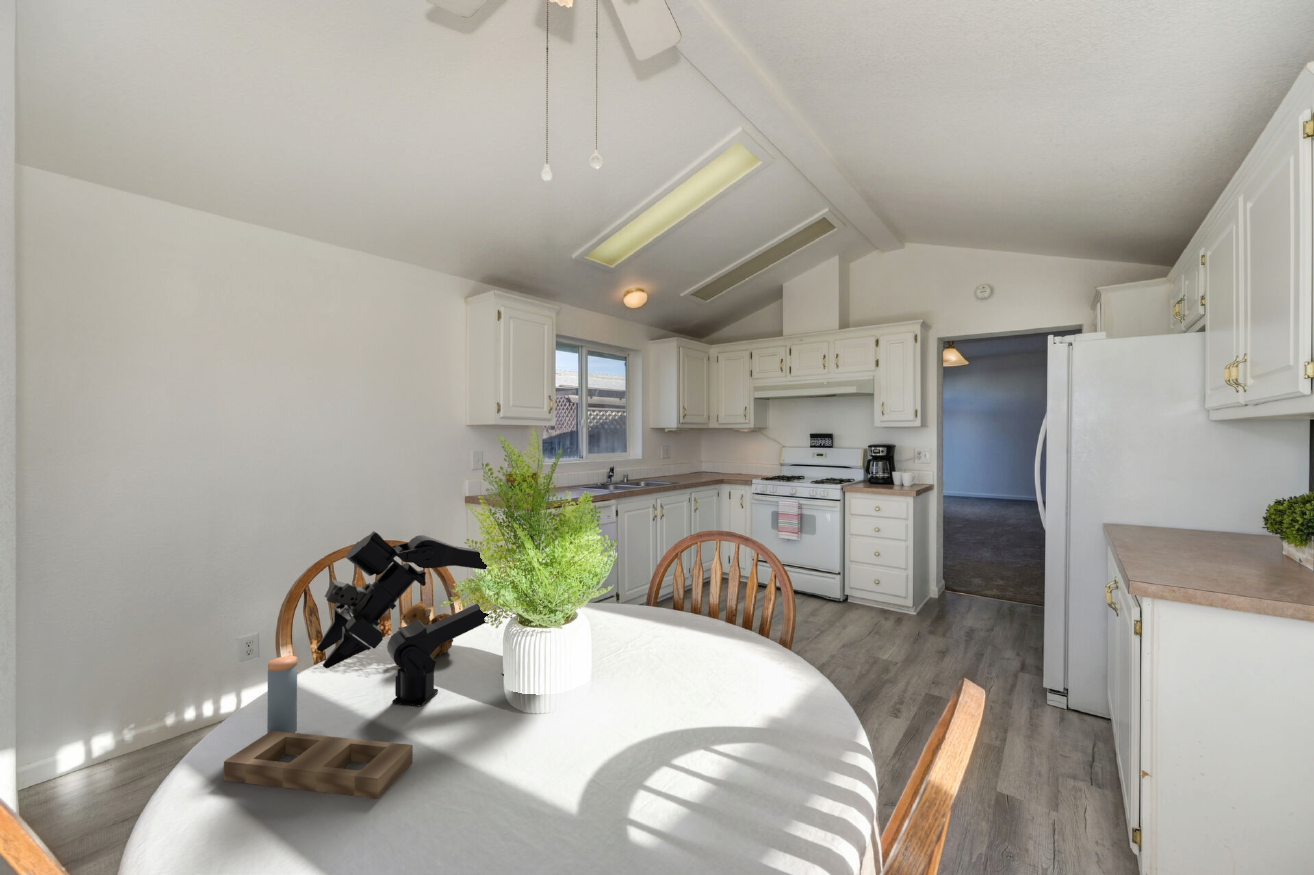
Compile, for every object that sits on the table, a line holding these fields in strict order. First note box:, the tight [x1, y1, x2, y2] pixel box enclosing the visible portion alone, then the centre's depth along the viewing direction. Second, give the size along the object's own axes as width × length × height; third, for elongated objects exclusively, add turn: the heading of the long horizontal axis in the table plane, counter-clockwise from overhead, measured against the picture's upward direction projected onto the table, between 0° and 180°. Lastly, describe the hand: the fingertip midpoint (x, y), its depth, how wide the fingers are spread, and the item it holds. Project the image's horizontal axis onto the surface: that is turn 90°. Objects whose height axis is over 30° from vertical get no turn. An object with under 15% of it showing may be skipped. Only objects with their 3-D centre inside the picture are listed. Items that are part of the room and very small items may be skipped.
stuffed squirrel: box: [396, 600, 454, 659], centre depth 135 cm, size 10×14×13 cm
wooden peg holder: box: [223, 731, 414, 799], centre depth 89 cm, size 26×9×3 cm, turn 82°
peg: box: [266, 655, 298, 734], centre depth 100 cm, size 4×4×13 cm
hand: (321, 658), depth 104 cm, fingers open, 9 cm apart
